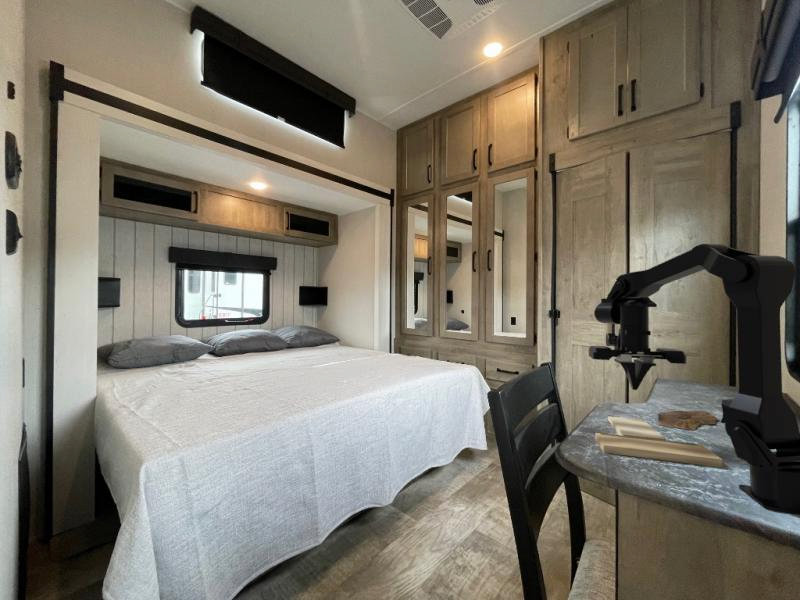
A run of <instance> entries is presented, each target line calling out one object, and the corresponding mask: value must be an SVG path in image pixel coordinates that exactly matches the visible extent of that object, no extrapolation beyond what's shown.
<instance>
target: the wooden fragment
mask: <svg viewBox="0 0 800 600" xmlns="http://www.w3.org/2000/svg"><path fill="white" fill-rule="evenodd" d="M657 417H658V422H657V423H658V424H657V426H659V427H664V428H668V429H669V428H670V429H676V430H683V431H691V432H695V431H696V430H697V429H698V428H700V427H702V426H703V425H706V426H709V425H717V422H721V420H720V419H719V418H717V417H716V416H715V415H713V414H710V412H709V411H707V410H685V411H684V410H675V411H666V412H665V411H663V412H660V413H658V416H657Z"/></svg>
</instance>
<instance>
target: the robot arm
mask: <svg viewBox="0 0 800 600" xmlns="http://www.w3.org/2000/svg"><path fill="white" fill-rule="evenodd" d="M704 270H705V271H706V272H707V273H709V274H711V275H713V276H716V277H718V278H720V279H721V280H722V281H721V282H722V286H723V290H724V293H725V294H726V296H727V297H728V299H729V300H730V302H731V303H732V304H733V305H734V307H735V308H736V330H737V331H736V335H737V336H736V338H737V340H736V341H737V371H738V372H737V374H738V377H737V378H738V380H737V381H738V391H737V393H736V394H735V396H734V398H730V399H728V398H727V399H722V401H721V405H720V406H721V409H722V417H721V420H720V423H721V424H724V429H725V433H726V435H727V436H728V437H729V438H730V441H731V444H732V446H733V449H734V452H735V455H736V457H737V458H738V459H740V460H742V461H745V462H746V463H747V464H748V465H749V485H745V484H738V489H740V490H741V491H742V492H744V493H745V494H746V495H747V496H749V498H752V500H753V501H755V502H756V503H757V504H759V505H760V506H761V507H762V508H764V509H766V510H770V511H771V510H772V511H776V512H777V511H778V512H783V513H791V514H797V515H800V427H799V425H798V424H799V423H798V419H797V417H796V414H795V412H794V410H793V409H792V408H791V406H790V405H789V404H788V402H787V401H786V400H785V398H784V396H783V382H782V381H783V375H782V373H783V372H782V371H783V369H782V341H781V339H782V338H781V308H782V306H783V305H784V303H785V301H786V300H787V299H788V297H790V295H791V293H792V292H793V286H794V280H795V278H796V277H795V276H796V268H795V264H794V263H793V261H790V260H789V259H787V258H786V257H783V256H780V255H761V254H757V253H753V252H749V251H744V250H740V249H736V248H733V247H730V246H727V245H725V244H722V243H721V244H718V243H701V244H698V245H695V246H694V247H692V248H691V249H690V250H687V251H685V252H683V253H681V254H678V255H676V256H675V257H674V256H673V257H672V258H670V259H667V260H666V261H663V262H661V263H659V264H657V265H654V266H652V267H650V268H648V269H644V270H638V271H632V272H627V273H623V274H620V275H618V276H617V277H616V281H615V282H614V284H613V285H612V288H611V289H610V291H609V293H608V294H607V297H606V298H601V302H600V303H598V304H597V306H596V307H595V309H594V317H595V319H596V321H598V322H599V323H602V324H611V325H612V324H613V325H619V329H618V334H617V335H616V333H611V332H606V335H605V345H590V346H589V347H588V357H590V358H591V359H592V360H596V361H597V360H600V361H609V360H611V359H612V358H614V359H613V360H614V361H615V362H616V363H617V364H620V366H621V367H622V369H623V371H624V372H625V375H626V378H627V380H628V382H629V385H630V388H631V389H632V390H633V391H638V390H639V387H640V385H641V383H642V382H643V380H644V379H645V376H646V375H647V373H648V372H649V371H650V370H651V368H652V367H657V363H656V362H655V360H666V361H667V362H668V363H669V364H680V365H681V364H682V365H687V355H686V353H685V352H684V351H683V350H679V349H676V348H667V347H666V348H661V347H660V348H659V347H657V348H656V349H655V350H654V351H653V350H652V349H651V348H650V343H649V342H650V336H651V330H650V327H649V326H650V325H649V323H650V320H649V318H650V316H649V312H650V311H649V309H650V308H656V307H658V304H657V303H656V302H655V301H653V300H651V298H650V297H651V296H652V295H654V294H656V293H658V292H659V291H660V290H661V288H662V287H663V286H665V285H667V284H670V283H672V282H675V281H678V280H680V279H683V278H685V277H688V276H691V275H695V274H696V273H700V272H701V271H704ZM611 347H613V348H614V349H612V348H611ZM632 360H633V361H632ZM772 450H775V451H772Z"/></svg>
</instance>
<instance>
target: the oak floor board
mask: <svg viewBox="0 0 800 600" xmlns="http://www.w3.org/2000/svg"><path fill="white" fill-rule="evenodd" d="M595 441H596V442H597V445H598V446H599V447H600V449H601V450H602V453H604V454H605V453H606V454H613V455H620V456H621V455H622V456H629V457H637V458H643V459H644V458H645V459H654V460H659V461H660V460H661V461H668V462H676V463H684V464H692V465H698V466H706V467H707V466H708V467H715V468H716V467H717V468H723V458H721V457H720V456H719V455H716V454H715V453H714V452H713V451H711V450H710V449H709V448H707V447H706V446H705V445H703V444H701V443H700V444H699V443H692V442H682V441H674V440H673V441H672V440H667V439H666V440H657V439H648V438H639V437H630V436H621V435H619V434H612V433H604V432H603V433H602V432H600V433H599V432H595Z"/></svg>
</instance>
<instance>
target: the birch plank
mask: <svg viewBox="0 0 800 600" xmlns="http://www.w3.org/2000/svg"><path fill="white" fill-rule="evenodd" d="M608 421H609V422H610V423H611V425H612V426H613V427H612V426H611V425H610V426H611V427H612V429H613V428H614V429H615V430H616V431H615V430H614V429H613V430H614V431H615V432H616V433H617V435H621V436H630V437H639V438H648V439H657V440H666V441H667V438H665V437H664V436H663V435H662V434H660V433H659V432H658V431H657V429H655V428H654V427H653V426H652V425H650V424H649V423H648V422H647V421H645V420H644V419H640V418H639V419H638V418H630V417H619V416H609V415H608V416H607V422H608Z"/></svg>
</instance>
